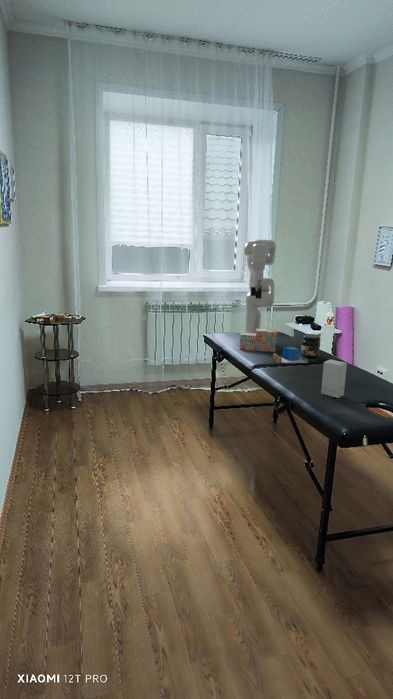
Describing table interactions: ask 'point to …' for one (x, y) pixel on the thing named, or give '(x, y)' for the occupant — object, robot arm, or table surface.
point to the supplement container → (310, 345)
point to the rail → (277, 358)
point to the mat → (301, 360)
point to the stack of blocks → (259, 340)
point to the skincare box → (333, 378)
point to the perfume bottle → (292, 353)
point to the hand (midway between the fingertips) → (255, 297)
